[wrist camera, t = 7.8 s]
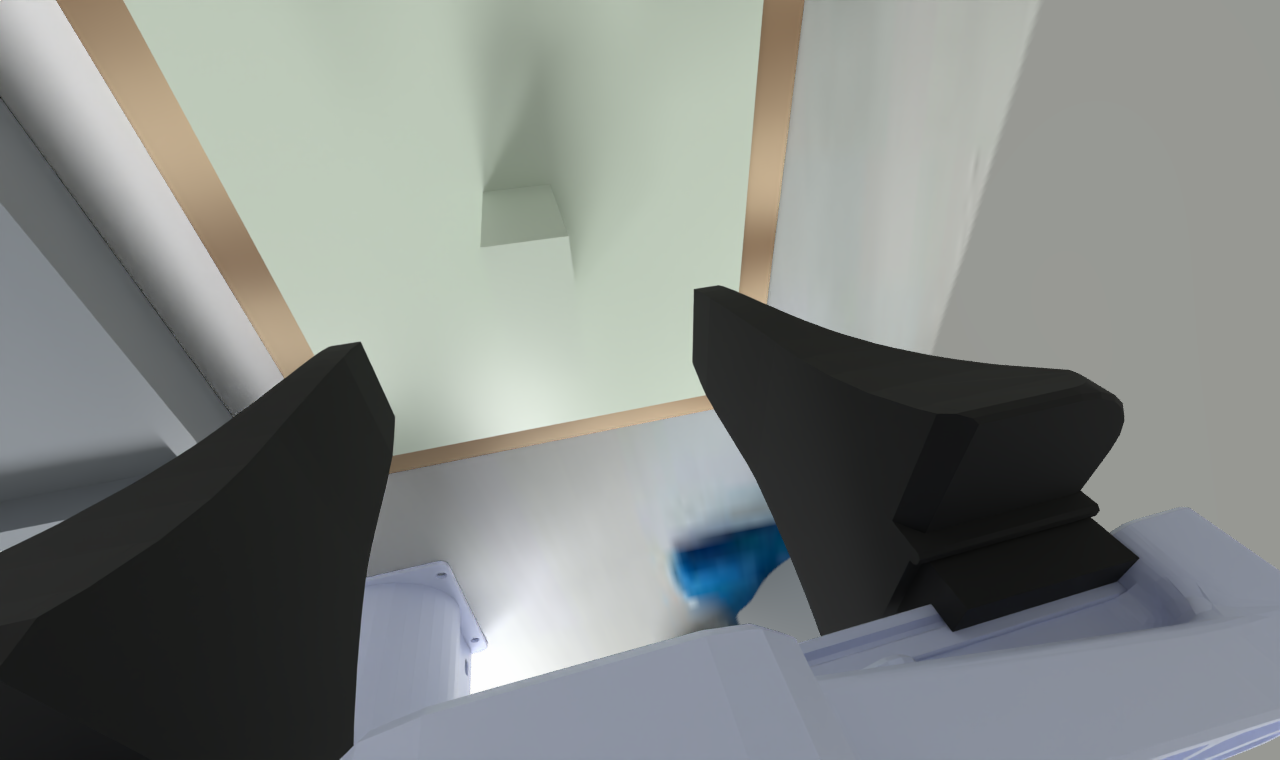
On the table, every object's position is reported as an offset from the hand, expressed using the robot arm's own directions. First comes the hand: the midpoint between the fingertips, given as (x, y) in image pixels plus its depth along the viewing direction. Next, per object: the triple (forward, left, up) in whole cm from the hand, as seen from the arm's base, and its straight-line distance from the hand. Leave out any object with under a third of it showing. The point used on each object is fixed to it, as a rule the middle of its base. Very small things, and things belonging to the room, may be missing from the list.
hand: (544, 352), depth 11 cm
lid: (0, 0, -7) cm, 7 cm away
